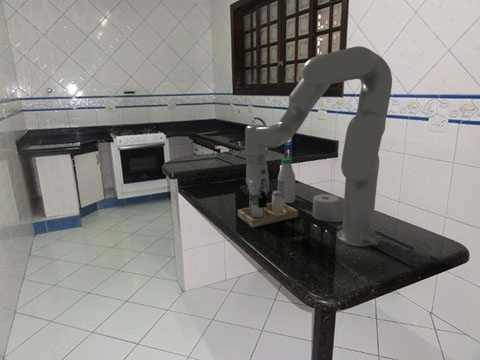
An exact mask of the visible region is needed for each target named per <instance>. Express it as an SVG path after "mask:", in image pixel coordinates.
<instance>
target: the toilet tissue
mask: <svg viewBox="0 0 480 360" xmlns="http://www.w3.org/2000/svg"><path fill="white" fill-rule="evenodd" d="M339 204H340V198H339V197H338V196H336V195H332V194H328V193H327V194H324V193H322V194H317V195H316V194H315V195H314V196H313V197H312V217H313V218H314V220H318V221H321V222H331V223H333V222H334V223H340V222H343V210H344V206H340V205H339Z"/></svg>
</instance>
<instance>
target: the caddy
mask: <svg viewBox="0 0 480 360" xmlns="http://www.w3.org/2000/svg"><path fill="white" fill-rule="evenodd" d="M236 212H237V217H238V218H240V220H243V221H244V222H245V223H246V224H248V225H249V226H250V227H252V228H257V227H261V226H265V225H268V224H269V225H271V224H274V223H278V222H282V221H287V220H291V219H294V218H298V217H299V210H297V209H296V208H294V207H293V206H290V205H288V204H287V203H283V213H281V214H274V213H273V212H272V202H268V203H267V206H266V207H265V217H263V218H251V217H250V206H249V207H244V208H240V209H237V211H236Z"/></svg>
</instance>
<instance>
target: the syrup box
mask: <svg viewBox="0 0 480 360" xmlns="http://www.w3.org/2000/svg"><path fill="white" fill-rule="evenodd" d="M260 189H263V186H262V185H261V187H260ZM263 192H264V190H263V191H261V194H262V193H263ZM258 197H259V193H258V191H257V190H255V187H254V183H253V182H252V181H251V180H249V199H250V201H249V207H250V217H251V218H263V217H265V207H262V208H259V202H258Z"/></svg>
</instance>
